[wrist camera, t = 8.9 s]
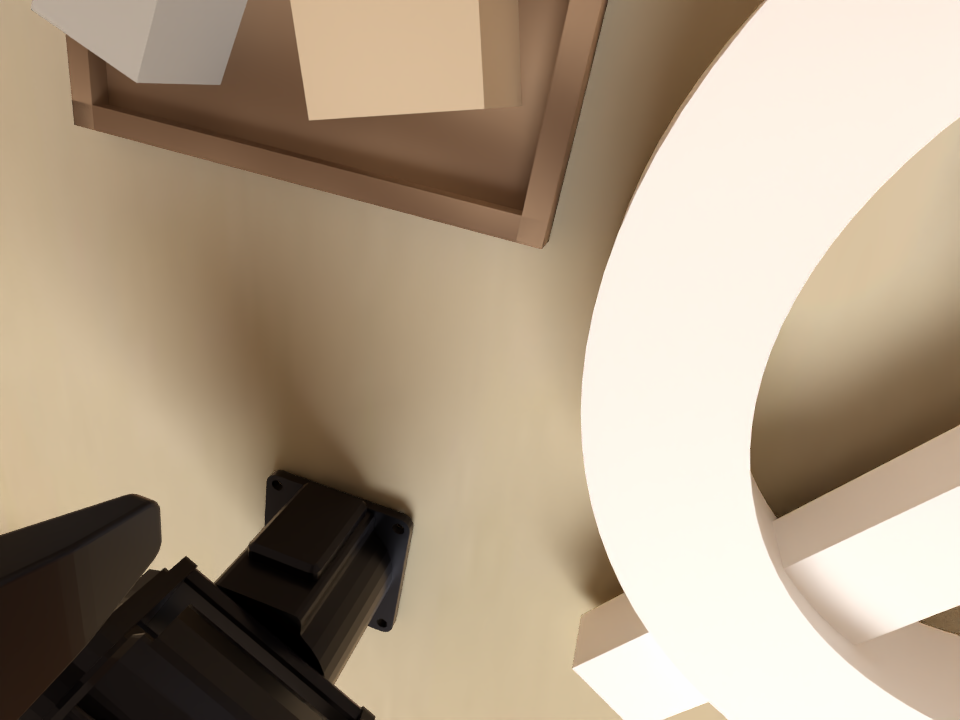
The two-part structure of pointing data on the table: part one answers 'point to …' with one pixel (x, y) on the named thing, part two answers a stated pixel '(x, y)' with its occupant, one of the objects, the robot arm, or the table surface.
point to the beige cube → (152, 35)
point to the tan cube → (407, 56)
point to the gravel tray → (370, 124)
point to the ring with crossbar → (735, 385)
